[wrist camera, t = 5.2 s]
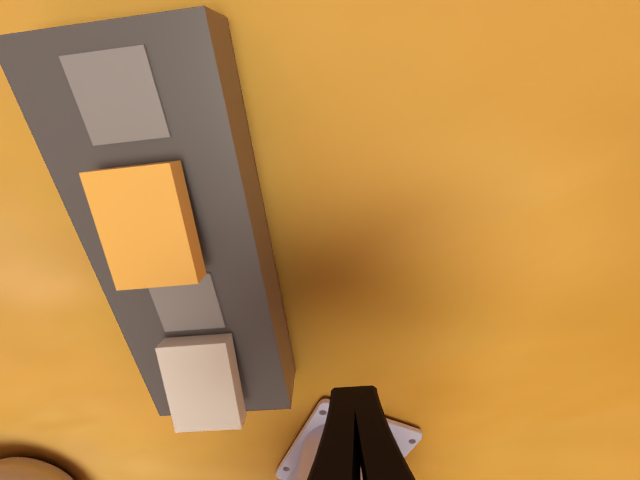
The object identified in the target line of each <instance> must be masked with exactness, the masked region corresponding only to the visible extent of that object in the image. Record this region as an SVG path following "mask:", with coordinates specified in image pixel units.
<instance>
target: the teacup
mask: <svg viewBox="0 0 640 480" xmlns="http://www.w3.org/2000/svg"><path fill="white" fill-rule="evenodd" d="M0 480H74V479H73V478H72V477H71V476H70V475H68V474H67V473H66V472H64V471H63V470H61V469H60V468H58V467H55V466H53V465H51V464H49V463H46V462H44V461H40V460H37V459H33V458H26V457H9V458H4V459H0Z"/></svg>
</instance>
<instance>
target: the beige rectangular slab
mask: <svg viewBox="0 0 640 480" xmlns="http://www.w3.org/2000/svg"><path fill="white" fill-rule="evenodd" d="M155 350H156V354H157V359H158V363H159V367H160V371H161V375H162V379H163V384H164V388H165V392H166V396H167V400H168V404H169V409H170V413H171V417H172V421H173V425H174V429H175V433H176V432H195V431H215V430H234V429H242V427H243V424H244V421H245V418H246V410H245V404H244V399H243V393H242V388H241V382H240V377H239V371H238V366H237V360H236V355H235V349H234V344H233V338H232V333H225V334H211V335H197V336H183V337H170V338H164V339H163V340H162V341H161V342H160V343H159V344H158V345H157V347H156V348H155Z"/></svg>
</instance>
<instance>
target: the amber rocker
mask: <svg viewBox="0 0 640 480" xmlns="http://www.w3.org/2000/svg"><path fill="white" fill-rule="evenodd" d="M79 175H80V179H81V182H82V185H83V188H84V191H85V194H86V197H87V200H88V203H89V207H90V210H91V213H92V216H93V219H94V222H95V225H96V228H97V232H98V235H99V238H100V241H101V244H102V247H103V250H104V253H105V256H106V260H107V263H108V266H109V269H110V272H111V275H112V278H113V281H114V284H115V288H116V291H119V290H131V289H143V288H155V287H167V286H179V285H191V284H199V282H200V281H201V280H202V279H203V278H204V277H205V275H206V269H205V265H204V261H203V256H202V252H201V247H200V243H199V239H198V234H197V230H196V226H195V221H194V217H193V212H192V208H191V204H190V199H189V195H188V191H187V186H186V182H185V177H184V173H183V169H182V164H181V160H178V161H169V162H160V163H151V164H142V165H132V166H123V167H114V168H105V169H96V170H91V171H86V172H81V173H79Z"/></svg>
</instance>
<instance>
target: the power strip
mask: <svg viewBox="0 0 640 480" xmlns="http://www.w3.org/2000/svg"><path fill="white" fill-rule="evenodd" d="M0 64H1V67H2V69H3V71H4V73H5V75H6V78H7V80H8V82H9V84H10V86H11V89H12V91H13V93H14V95H15V97H16V100H17V102H18V104H19V106H20V108H21V111H22V113H23V115H24V117H25V119H26V122H27V124H28V126H29V128H30V130H31V133H32V135H33V137H34V139H35V141H36V144H37V146H38V148H39V150H40V153H41V155H42V157H43V159H44V161H45V164H46V166H47V168H48V170H49V172H50V175H51V177H52V179H53V181H54V183H55V186H56V188H57V190H58V192H59V194H60V197H61V199H62V201H63V203H64V205H65V208H66V210H67V212H68V214H69V216H70V219H71V221H72V223H73V225H74V227H75V230H76V232H77V234H78V236H79V238H80V241H81V243H82V245H83V247H84V249H85V252H86V254H87V256H88V258H89V261H90V263H91V265H92V267H93V269H94V272H95V274H96V276H97V278H98V280H99V283H100V285H101V287H102V289H103V291H104V294H105V296H106V298H107V300H108V302H109V305H110V307H111V309H112V311H113V313H114V316H115V318H116V320H117V322H118V324H119V327H120V329H121V331H122V333H123V335H124V338H125V340H126V342H127V344H128V346H129V349H130V351H131V353H132V355H133V357H134V360H135V362H136V364H137V366H138V369H139V371H140V373H141V375H142V377H143V380H144V382H145V384H146V386H147V388H148V391H149V393H150V395H151V397H152V399H153V402H154V404H155V406H156V408H157V410H158V413H159V415H160V416H168V415H171V413H170V409H169V404H168V400H167V396H166V392H165V388H164V384H163V379H162V375H161V371H160V367H159V363H158V359H157V354H156V350H155V348H156V347H157V345H158V344H159V343H160V342H161V341H162V340H163V339H164V338H170V337H183V336H197V335H211V334H225V333H232V338H233V344H234V349H235V355H236V360H237V366H238V371H239V377H240V382H241V388H242V393H243V399H244V404H245V410H246V411H257V410H275V409H291V403H292V395H293V386H294V377H295V365H294V359H293V354H292V349H291V344H290V339H289V334H288V329H287V323H286V318H285V313H284V308H283V303H282V298H281V292H280V287H279V282H278V277H277V272H276V267H275V262H274V256H273V251H272V246H271V241H270V236H269V231H268V225H267V220H266V215H265V210H264V205H263V200H262V195H261V189H260V184H259V179H258V174H257V169H256V164H255V158H254V153H253V148H252V143H251V138H250V133H249V128H248V122H247V117H246V112H245V107H244V102H243V97H242V91H241V86H240V81H239V76H238V71H237V66H236V61H235V55H234V50H233V45H232V40H231V35H230V30H229V24H228V19H227V17H225V16H223V15H221V14H219V13H217V12H215V11H213V10H211V9H209V8H207V7H205V6H200V7H193V8H186V9H179V10H172V11H165V12H158V13H151V14H144V15H137V16H130V17H123V18H116V19H109V20H102V21H95V22H88V23H81V24H74V25H67V26H60V27H53V28H46V29H39V30H32V31H25V32H18V33H11V34H4V35H0ZM178 160H181V164H182V169H183V173H184V177H185V182H186V186H187V191H188V195H189V199H190V204H191V208H192V212H193V217H194V221H195V226H196V230H197V234H198V239H199V243H200V247H201V252H202V256H203V261H204V265H205V269H206V275H205V277H204V278H203V279H202V280H201V281H200V282H199V284H191V285H179V286H167V287H155V288H143V289H131V290H119V291H116V288H115V284H114V281H113V278H112V275H111V272H110V269H109V266H108V263H107V260H106V256H105V253H104V250H103V247H102V244H101V241H100V238H99V235H98V232H97V228H96V225H95V222H94V219H93V216H92V213H91V210H90V207H89V203H88V200H87V197H86V194H85V191H84V188H83V185H82V182H81V179H80V175H79V173H81V172H86V171H91V170H96V169H105V168H114V167H123V166H132V165H142V164H151V163H160V162H169V161H178Z"/></svg>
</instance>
